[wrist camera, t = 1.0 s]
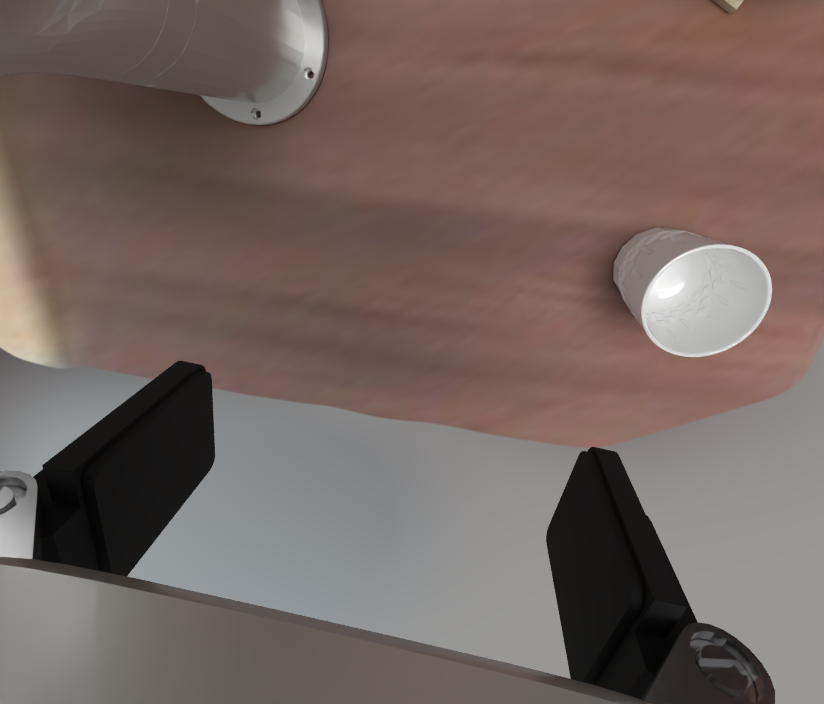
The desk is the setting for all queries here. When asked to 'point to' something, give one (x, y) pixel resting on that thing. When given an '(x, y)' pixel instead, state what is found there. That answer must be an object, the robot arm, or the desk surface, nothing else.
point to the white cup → (692, 290)
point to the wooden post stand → (729, 4)
